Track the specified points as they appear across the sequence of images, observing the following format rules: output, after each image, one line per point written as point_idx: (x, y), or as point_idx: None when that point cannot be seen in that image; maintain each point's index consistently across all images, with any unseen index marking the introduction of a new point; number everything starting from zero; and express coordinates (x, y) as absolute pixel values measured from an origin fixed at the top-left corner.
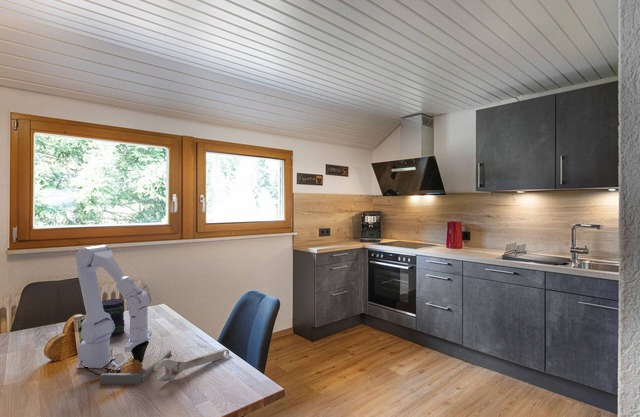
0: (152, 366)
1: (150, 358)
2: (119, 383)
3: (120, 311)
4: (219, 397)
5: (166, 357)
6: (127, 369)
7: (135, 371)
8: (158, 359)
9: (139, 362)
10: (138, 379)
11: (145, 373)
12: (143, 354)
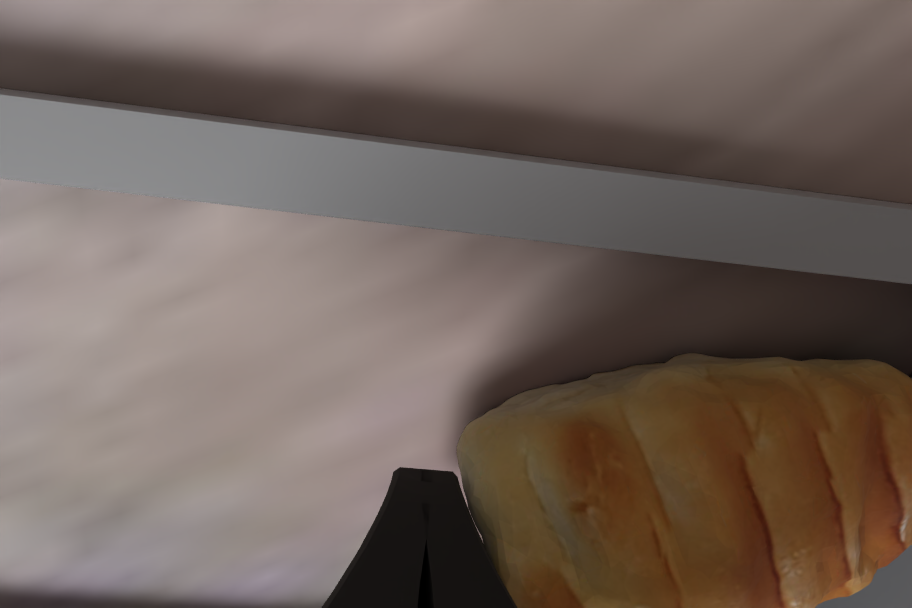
0: (612, 206)
1: (80, 408)
2: None
3: None
4: None
5: (16, 90)
6: (829, 588)
7: (905, 434)
8: (258, 198)
9: (613, 507)
10: None
11: (909, 235)
12: (410, 585)
